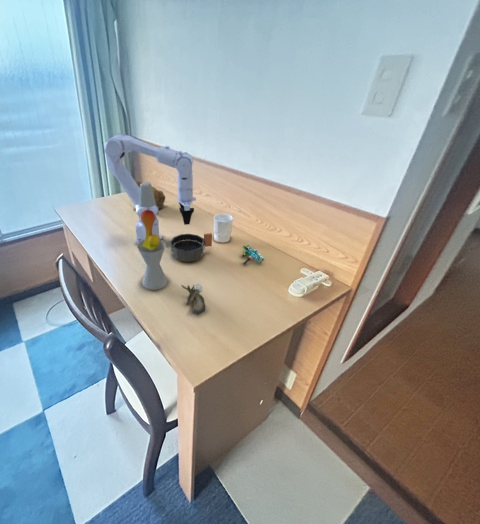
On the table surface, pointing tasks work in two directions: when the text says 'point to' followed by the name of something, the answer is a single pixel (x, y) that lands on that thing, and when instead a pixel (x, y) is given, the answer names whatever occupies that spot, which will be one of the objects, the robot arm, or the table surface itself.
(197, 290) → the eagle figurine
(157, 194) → the rough brown rock
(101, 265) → the table surface
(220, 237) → the white cup
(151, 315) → the table surface
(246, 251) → the stick construction toy
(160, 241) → the lava lamp
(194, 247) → the black cooking pot
